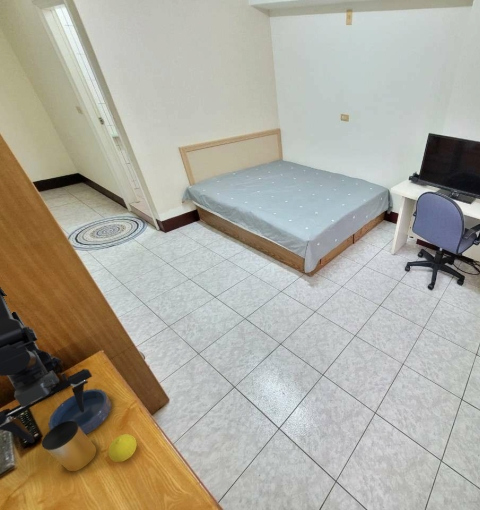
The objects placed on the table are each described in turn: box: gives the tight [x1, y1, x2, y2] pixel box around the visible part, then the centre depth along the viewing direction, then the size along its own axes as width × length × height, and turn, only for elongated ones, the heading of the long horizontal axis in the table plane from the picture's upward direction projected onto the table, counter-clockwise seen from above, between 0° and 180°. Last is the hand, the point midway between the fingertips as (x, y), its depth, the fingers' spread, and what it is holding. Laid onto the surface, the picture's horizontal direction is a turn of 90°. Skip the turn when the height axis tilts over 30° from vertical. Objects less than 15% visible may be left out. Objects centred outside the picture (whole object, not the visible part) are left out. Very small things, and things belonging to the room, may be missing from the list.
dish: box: [48, 388, 112, 436], centre depth 76 cm, size 12×12×4 cm
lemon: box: [108, 433, 138, 463], centre depth 68 cm, size 6×6×8 cm
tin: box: [41, 421, 97, 472], centre depth 66 cm, size 6×6×12 cm
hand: (59, 426), depth 65 cm, fingers open, 9 cm apart
